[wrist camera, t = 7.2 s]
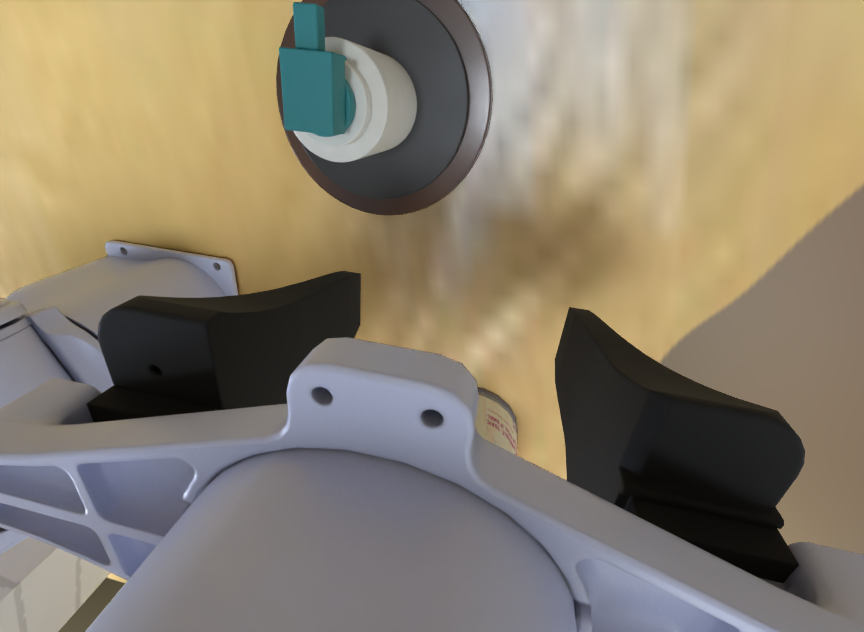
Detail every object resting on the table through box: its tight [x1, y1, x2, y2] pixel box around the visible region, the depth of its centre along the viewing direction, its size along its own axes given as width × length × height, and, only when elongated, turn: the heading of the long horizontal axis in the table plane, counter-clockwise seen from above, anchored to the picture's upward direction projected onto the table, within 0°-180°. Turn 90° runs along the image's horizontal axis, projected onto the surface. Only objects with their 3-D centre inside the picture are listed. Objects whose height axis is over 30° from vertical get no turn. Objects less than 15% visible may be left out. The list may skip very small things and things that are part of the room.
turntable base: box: [276, 0, 492, 215], centre depth 21 cm, size 11×11×1 cm
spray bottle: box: [279, 0, 469, 200], centre depth 17 cm, size 9×9×8 cm
